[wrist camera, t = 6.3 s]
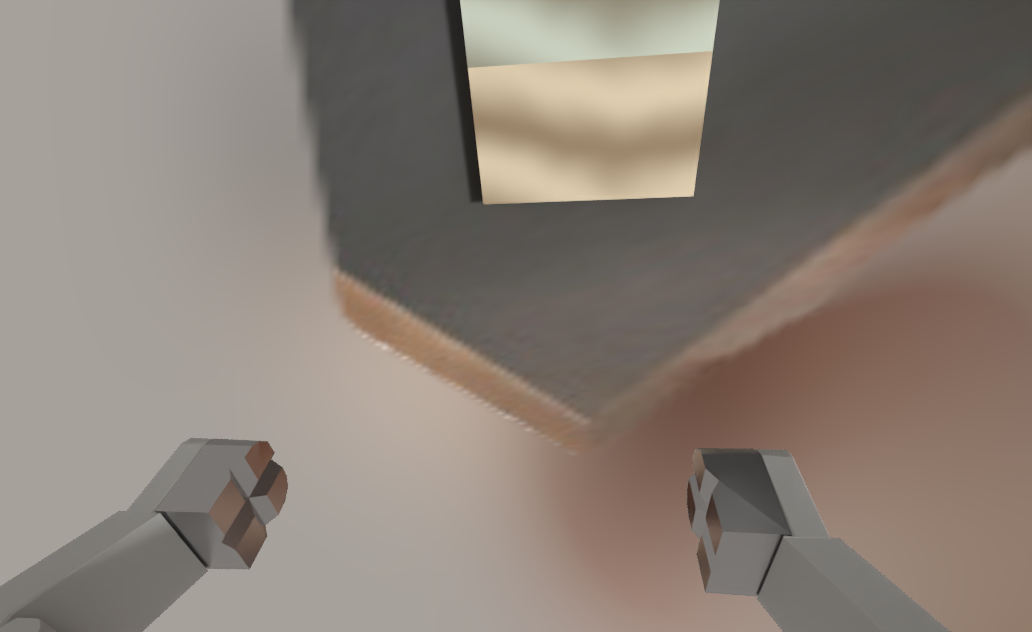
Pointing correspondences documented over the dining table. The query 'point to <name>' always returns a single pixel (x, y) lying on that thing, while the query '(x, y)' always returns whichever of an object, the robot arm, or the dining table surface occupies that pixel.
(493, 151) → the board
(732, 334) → the dining table surface
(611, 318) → the dining table surface
